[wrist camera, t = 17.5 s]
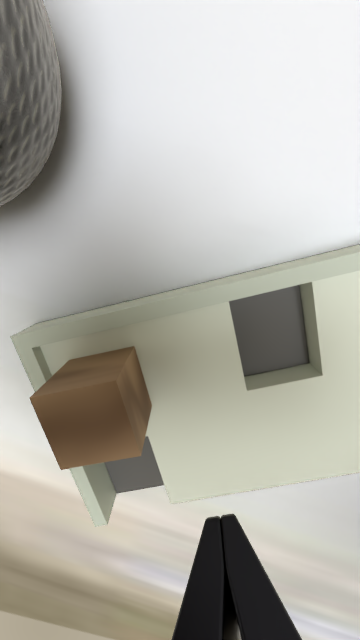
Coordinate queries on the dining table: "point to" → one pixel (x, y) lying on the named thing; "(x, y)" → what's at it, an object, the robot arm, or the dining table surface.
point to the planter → (26, 94)
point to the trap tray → (227, 380)
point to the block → (95, 409)
